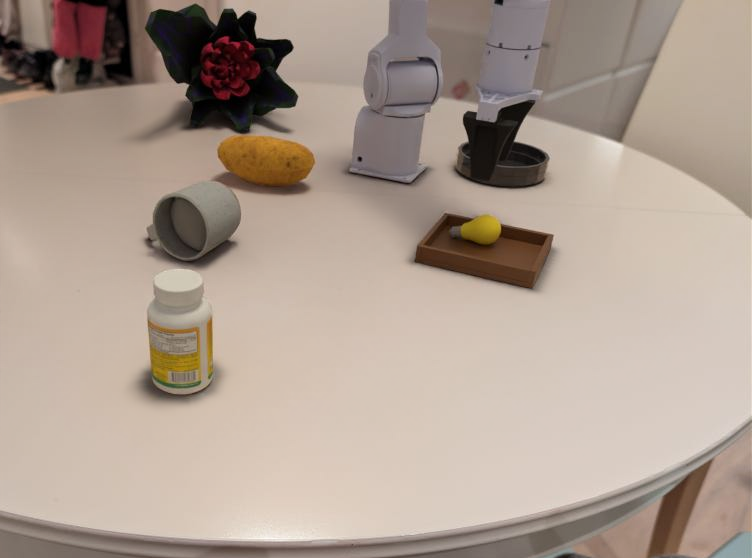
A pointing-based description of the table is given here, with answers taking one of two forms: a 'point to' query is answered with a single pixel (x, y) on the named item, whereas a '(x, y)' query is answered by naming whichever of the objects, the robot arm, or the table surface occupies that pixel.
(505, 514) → the table surface
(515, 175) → the pan
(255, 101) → the decorative plant
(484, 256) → the tray
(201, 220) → the ceramic mug
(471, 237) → the light bulb
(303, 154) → the potato
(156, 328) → the supplement bottle
